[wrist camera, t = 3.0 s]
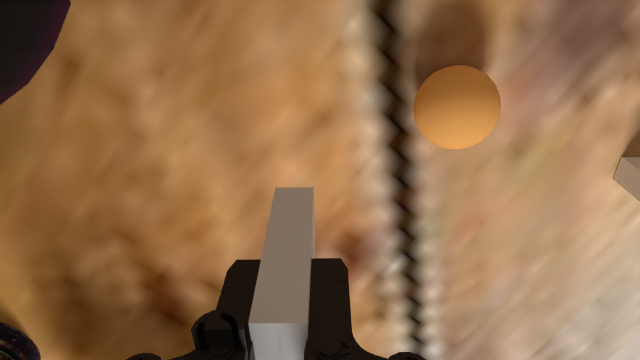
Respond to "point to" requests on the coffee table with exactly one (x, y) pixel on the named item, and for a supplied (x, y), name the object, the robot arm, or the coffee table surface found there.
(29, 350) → the storage jar
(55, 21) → the curved castle wall
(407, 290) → the coffee table surface
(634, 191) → the bridge
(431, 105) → the ball
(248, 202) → the coffee table surface
